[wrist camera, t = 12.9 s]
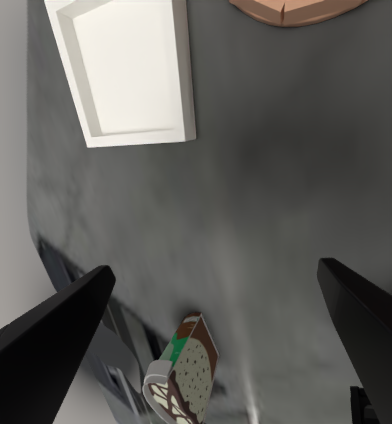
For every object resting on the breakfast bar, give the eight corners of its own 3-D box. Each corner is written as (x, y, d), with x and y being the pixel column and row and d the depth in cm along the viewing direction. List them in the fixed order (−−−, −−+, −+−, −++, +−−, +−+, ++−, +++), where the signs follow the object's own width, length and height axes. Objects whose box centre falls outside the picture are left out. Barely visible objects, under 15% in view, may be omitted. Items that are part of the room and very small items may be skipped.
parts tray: (182, -41, 13) (164, -70, 11) (196, 139, 18) (185, 141, 16) (71, 13, 18) (43, -1, 16) (105, 145, 23) (87, 147, 21)
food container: (166, 302, 31) (123, 368, 23) (198, 305, 28) (162, 381, 20) (191, 354, 35) (161, 427, 26) (222, 361, 32) (200, 446, 23)
